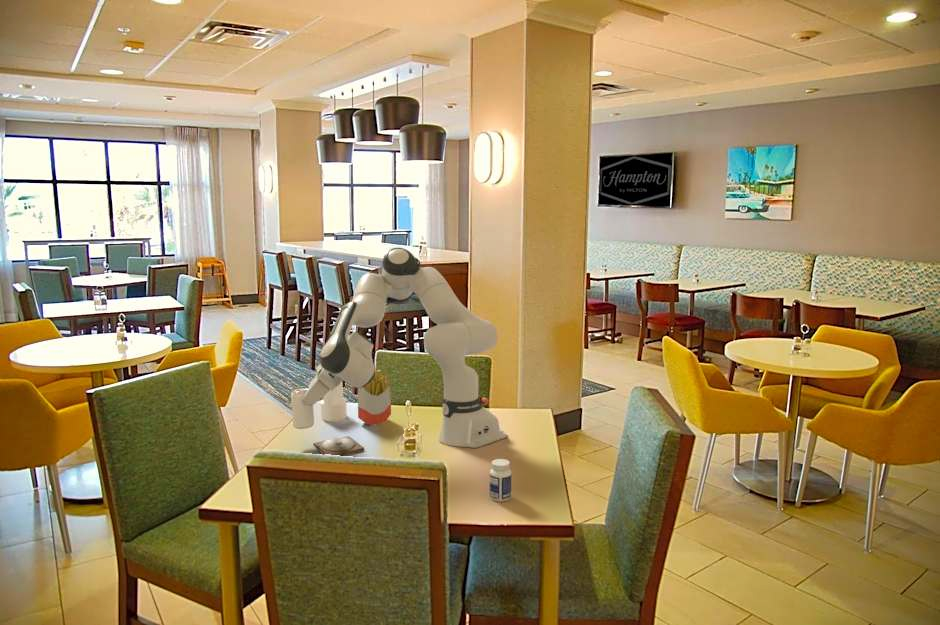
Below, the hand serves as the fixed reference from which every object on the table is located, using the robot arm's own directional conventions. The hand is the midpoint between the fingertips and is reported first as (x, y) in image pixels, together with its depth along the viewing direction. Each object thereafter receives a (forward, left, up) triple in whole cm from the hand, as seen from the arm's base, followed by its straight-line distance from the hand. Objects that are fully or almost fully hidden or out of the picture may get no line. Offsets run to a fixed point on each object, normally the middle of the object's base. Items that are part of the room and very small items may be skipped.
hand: (300, 405), depth 213 cm
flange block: (-9, +9, -13) cm, 18 cm away
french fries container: (-29, -7, -13) cm, 32 cm away
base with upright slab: (-19, -20, -13) cm, 30 cm away
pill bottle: (-32, +64, -13) cm, 73 cm away
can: (-1, +1, -7) cm, 7 cm away
